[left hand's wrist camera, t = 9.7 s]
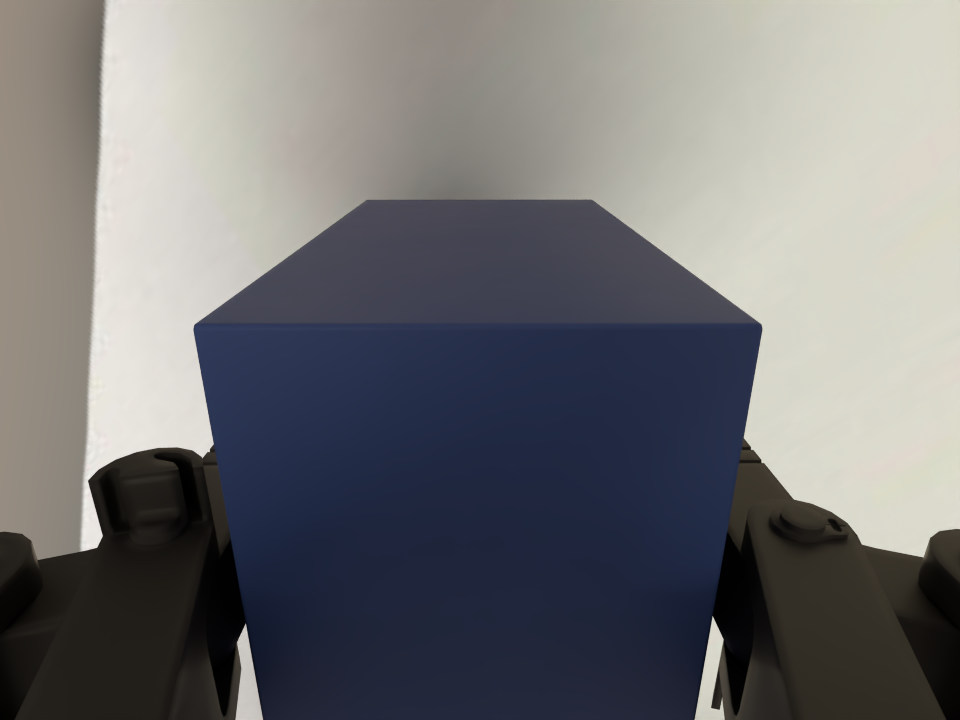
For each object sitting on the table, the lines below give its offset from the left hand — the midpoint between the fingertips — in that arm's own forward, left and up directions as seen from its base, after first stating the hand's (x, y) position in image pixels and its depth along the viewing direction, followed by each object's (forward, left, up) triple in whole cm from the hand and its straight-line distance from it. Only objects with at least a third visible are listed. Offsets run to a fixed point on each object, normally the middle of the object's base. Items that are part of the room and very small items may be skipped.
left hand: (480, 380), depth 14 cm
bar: (+9, +2, -1) cm, 10 cm away
